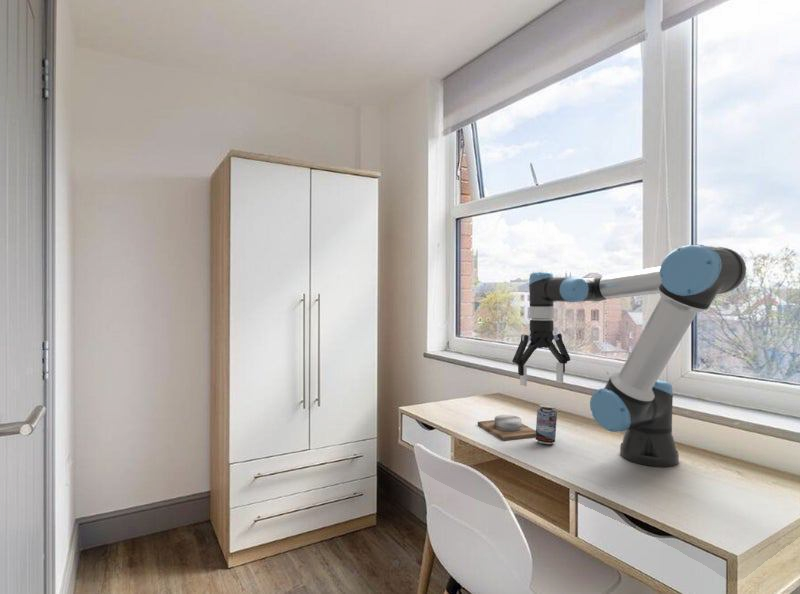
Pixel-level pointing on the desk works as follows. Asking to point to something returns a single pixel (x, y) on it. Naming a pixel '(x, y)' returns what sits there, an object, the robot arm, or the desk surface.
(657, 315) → the robot arm
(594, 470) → the desk surface
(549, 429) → the beverage can
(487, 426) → the post board
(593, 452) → the desk surface
